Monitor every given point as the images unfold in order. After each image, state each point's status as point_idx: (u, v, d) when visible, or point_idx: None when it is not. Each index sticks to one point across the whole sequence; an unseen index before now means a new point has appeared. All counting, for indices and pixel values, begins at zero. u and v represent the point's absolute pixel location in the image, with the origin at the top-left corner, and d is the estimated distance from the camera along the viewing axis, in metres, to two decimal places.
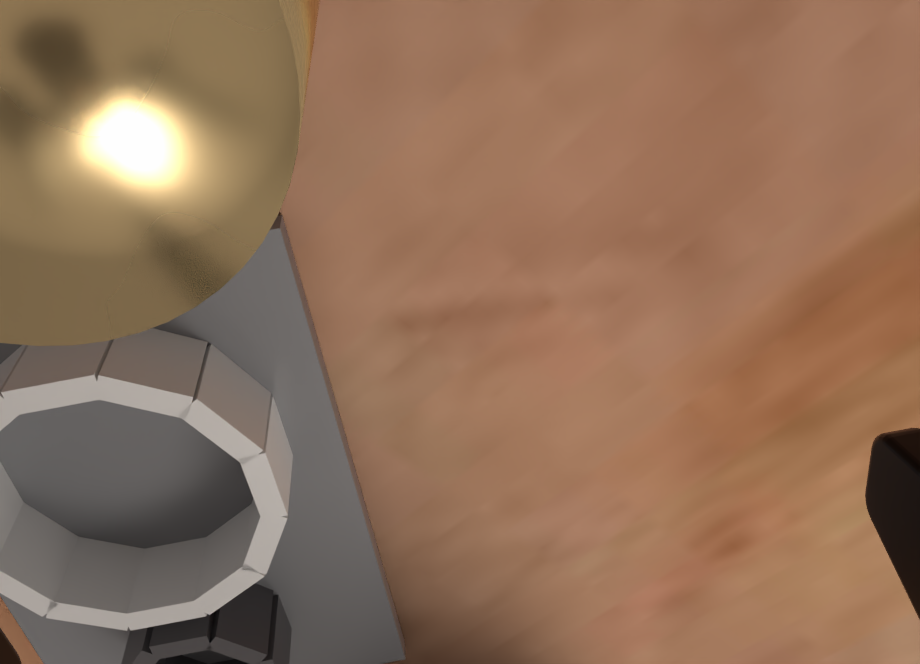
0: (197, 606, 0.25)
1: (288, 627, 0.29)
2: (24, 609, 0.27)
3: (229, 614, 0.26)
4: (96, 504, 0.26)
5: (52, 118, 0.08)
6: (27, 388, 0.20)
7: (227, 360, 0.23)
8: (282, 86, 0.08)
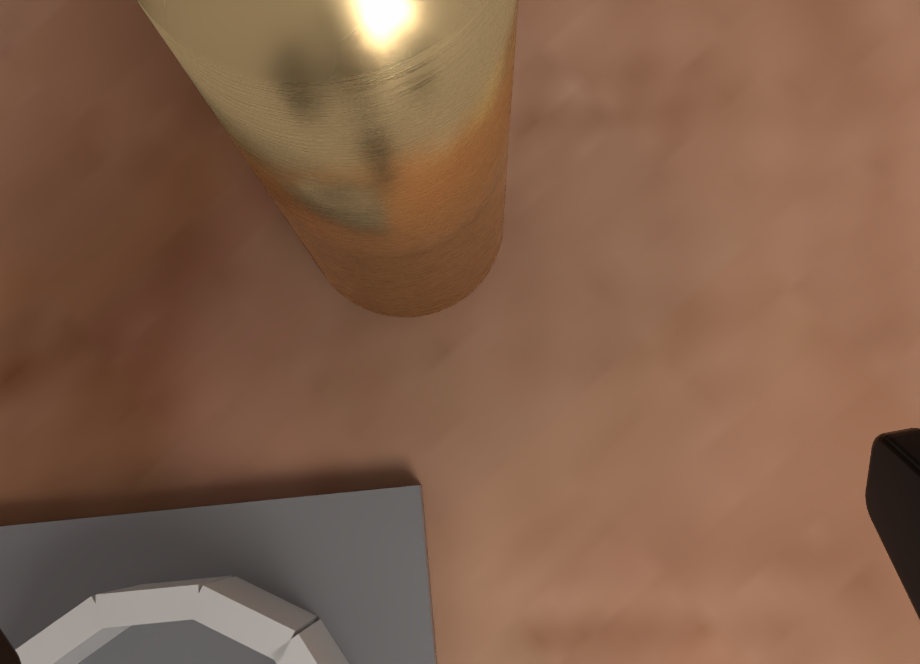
0: None
1: None
2: None
3: None
4: None
5: None
6: (124, 593, 0.18)
7: (333, 641, 0.20)
8: None
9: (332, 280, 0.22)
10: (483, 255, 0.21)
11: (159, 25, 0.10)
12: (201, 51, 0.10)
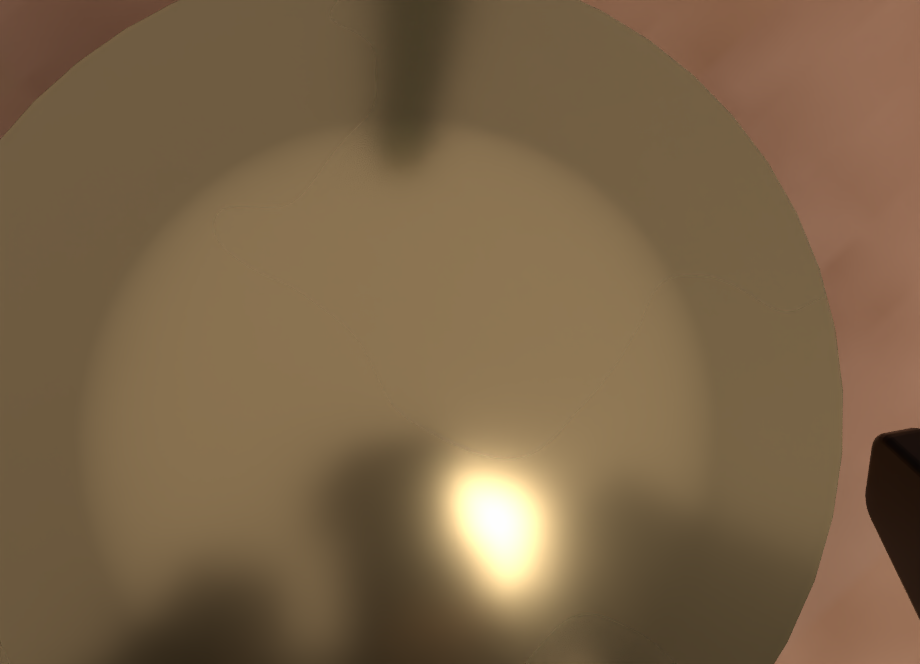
0: None
1: None
2: None
3: None
4: None
5: (434, 420, 0.05)
6: None
7: None
8: (815, 401, 0.05)
9: None
10: None
11: None
12: None
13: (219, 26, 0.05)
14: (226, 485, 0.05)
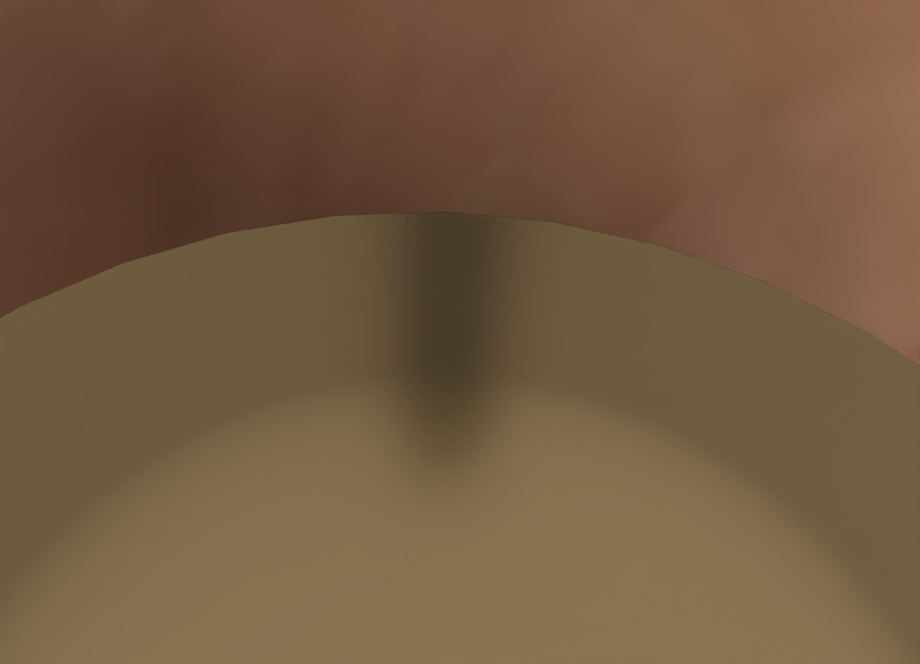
0: None
1: None
2: None
3: None
4: None
5: None
6: None
7: None
8: None
9: None
10: None
11: None
12: None
13: (111, 358, 0.03)
14: None
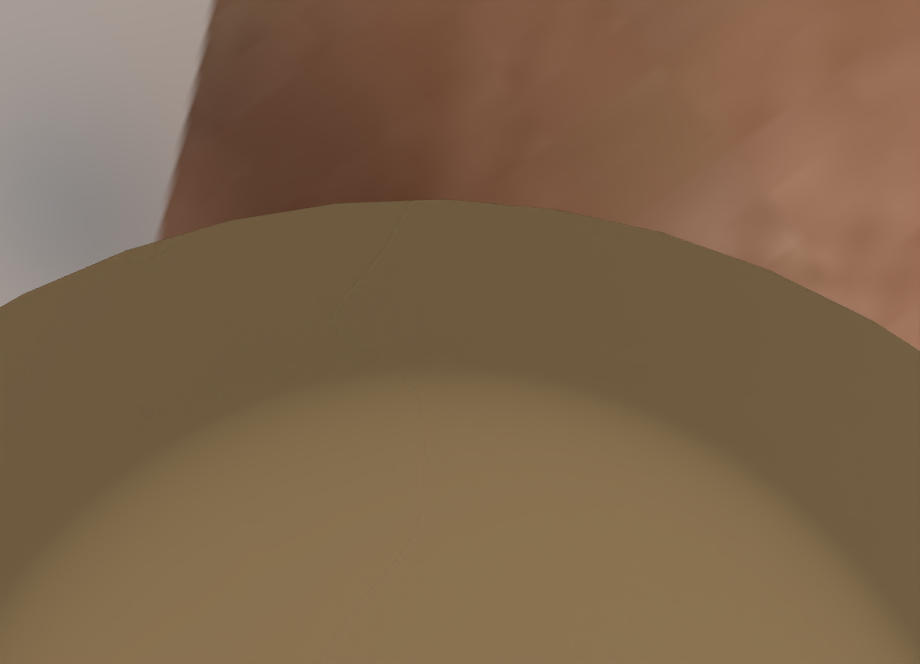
0: None
1: None
2: None
3: None
4: None
5: None
6: None
7: None
8: None
9: None
10: None
11: None
12: None
13: (112, 341, 0.03)
14: None
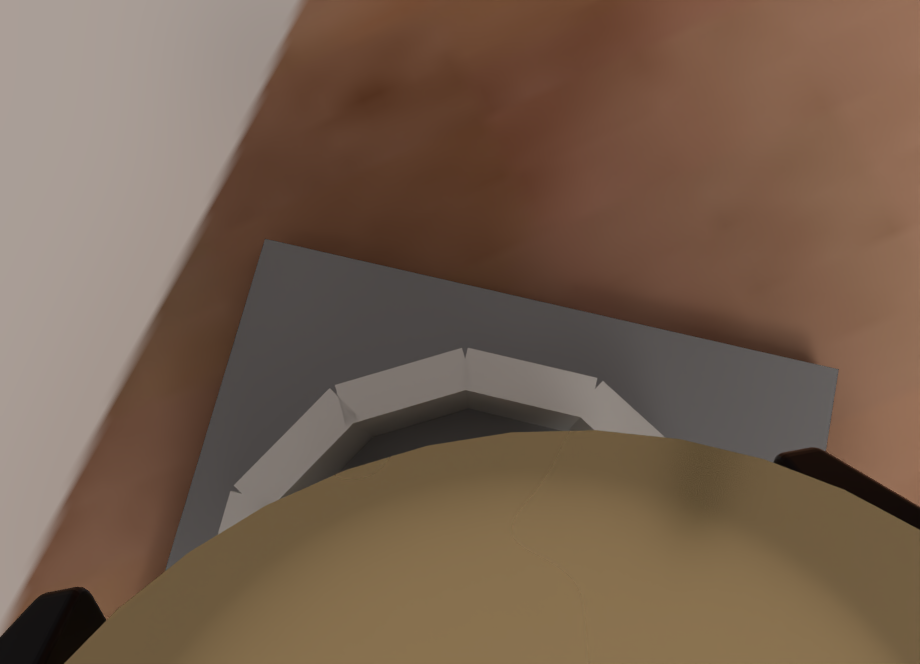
0: None
1: None
2: None
3: None
4: None
5: None
6: (503, 357, 0.14)
7: None
8: None
9: None
10: None
11: None
12: None
13: (339, 546, 0.03)
14: None
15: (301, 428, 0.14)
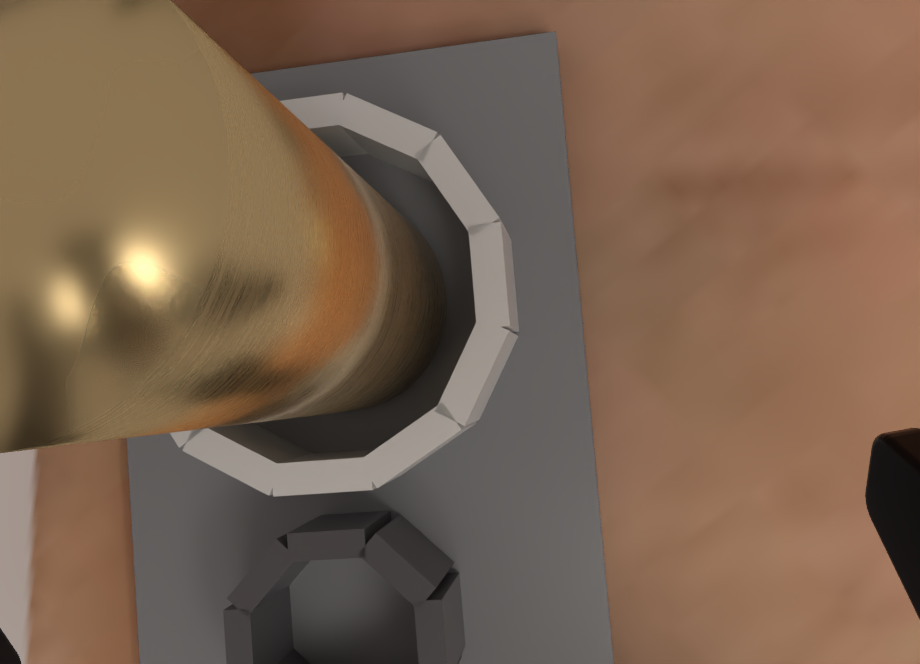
0: (365, 469, 0.18)
1: (462, 632, 0.20)
2: (148, 528, 0.22)
3: (396, 535, 0.19)
4: None
5: (15, 194, 0.08)
6: None
7: None
8: (206, 109, 0.08)
9: None
10: (424, 333, 0.19)
11: None
12: None
13: None
14: None
15: None
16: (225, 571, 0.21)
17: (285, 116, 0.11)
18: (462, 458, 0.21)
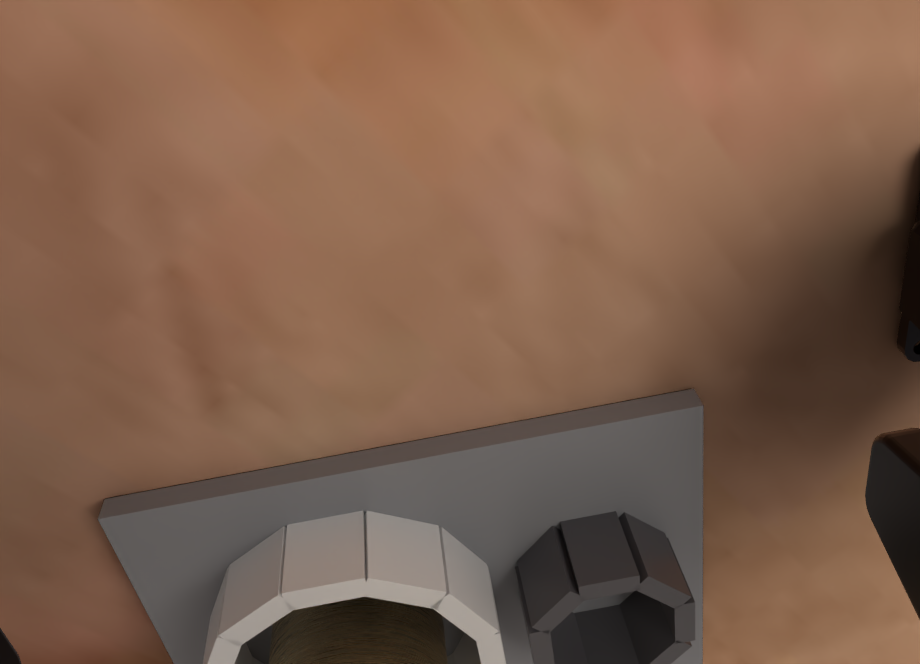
0: (485, 638, 0.24)
1: (605, 519, 0.26)
2: None
3: (532, 594, 0.25)
4: None
5: None
6: None
7: (243, 558, 0.25)
8: None
9: None
10: (376, 617, 0.24)
11: None
12: None
13: None
14: None
15: None
16: None
17: None
18: (470, 531, 0.26)
